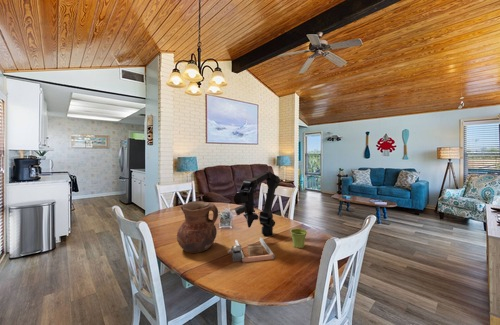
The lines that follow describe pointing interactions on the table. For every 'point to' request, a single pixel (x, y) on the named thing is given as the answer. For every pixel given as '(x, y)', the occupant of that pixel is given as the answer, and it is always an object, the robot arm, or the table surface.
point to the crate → (255, 249)
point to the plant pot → (298, 237)
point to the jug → (197, 226)
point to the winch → (236, 253)
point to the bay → (257, 258)
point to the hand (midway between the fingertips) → (249, 227)
